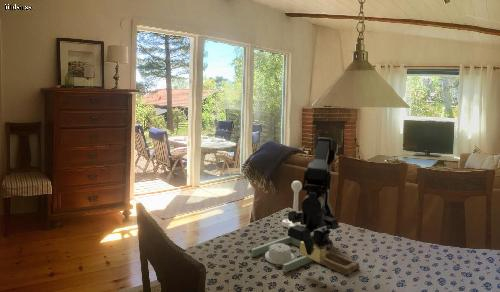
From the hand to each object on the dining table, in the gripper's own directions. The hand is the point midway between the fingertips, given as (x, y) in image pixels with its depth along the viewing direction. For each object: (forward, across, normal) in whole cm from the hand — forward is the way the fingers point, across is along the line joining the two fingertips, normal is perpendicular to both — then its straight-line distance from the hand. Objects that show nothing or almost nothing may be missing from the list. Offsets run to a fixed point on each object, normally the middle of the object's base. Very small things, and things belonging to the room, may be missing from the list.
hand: (312, 253), depth 127 cm
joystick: (+7, -26, -32) cm, 42 cm away
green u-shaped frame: (+7, -3, -13) cm, 15 cm away
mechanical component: (+7, 0, -14) cm, 15 cm away
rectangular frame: (+6, -11, +2) cm, 13 cm away
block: (+1, 0, 0) cm, 1 cm away
